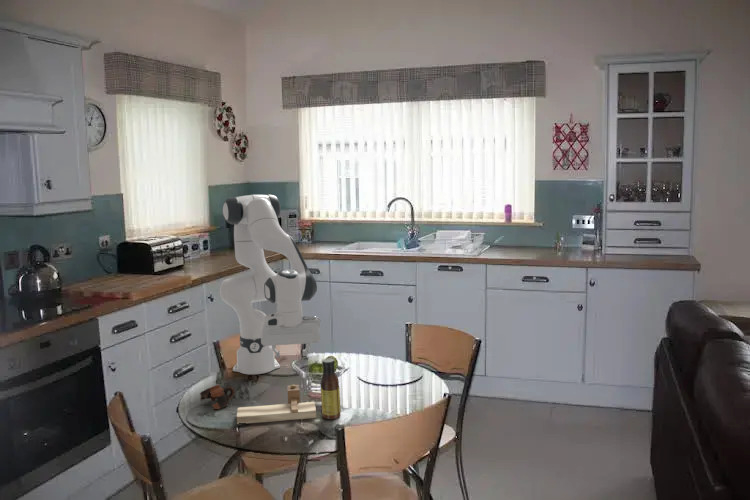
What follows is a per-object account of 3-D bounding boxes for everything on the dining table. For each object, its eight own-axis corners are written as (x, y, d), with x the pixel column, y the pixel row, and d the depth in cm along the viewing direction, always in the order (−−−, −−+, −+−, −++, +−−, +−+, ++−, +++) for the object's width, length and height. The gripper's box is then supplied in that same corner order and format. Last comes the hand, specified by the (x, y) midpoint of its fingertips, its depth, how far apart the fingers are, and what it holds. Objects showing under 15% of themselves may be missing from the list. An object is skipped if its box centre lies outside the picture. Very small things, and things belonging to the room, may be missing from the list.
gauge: (288, 404, 239) (287, 383, 238) (299, 403, 240) (298, 382, 238) (289, 421, 224) (288, 399, 223) (301, 420, 225) (300, 398, 224)
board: (238, 414, 231) (237, 407, 231) (314, 408, 235) (314, 401, 234) (237, 424, 223) (236, 416, 223) (316, 417, 227) (316, 410, 227)
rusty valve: (207, 414, 233) (197, 392, 235) (205, 416, 242) (197, 395, 243) (239, 399, 238) (230, 378, 239) (237, 402, 246) (228, 381, 248)
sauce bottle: (331, 411, 232) (329, 355, 229) (344, 415, 228) (342, 358, 225) (317, 417, 227) (315, 360, 224) (331, 422, 223) (329, 364, 220)
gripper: (319, 313, 237) (320, 351, 240) (260, 316, 234) (262, 354, 237) (320, 318, 231) (322, 357, 234) (259, 321, 228) (261, 360, 231)
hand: (291, 356), depth 235 cm, fingers open, 8 cm apart
